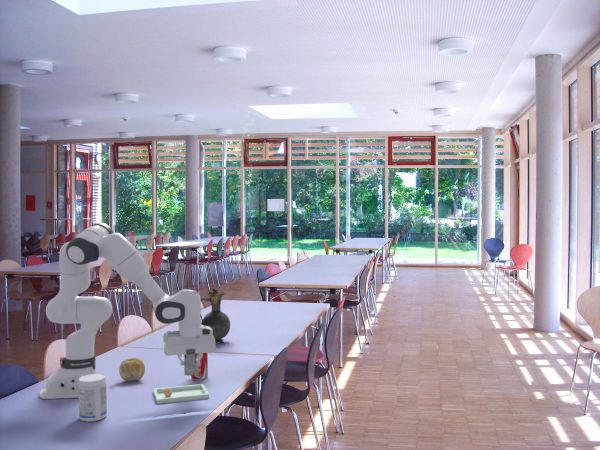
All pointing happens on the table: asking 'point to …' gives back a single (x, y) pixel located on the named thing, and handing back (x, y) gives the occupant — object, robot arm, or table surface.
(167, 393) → the ball
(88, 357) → the robot arm
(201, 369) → the soda can
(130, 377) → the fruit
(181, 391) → the tray
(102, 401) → the supplement tub
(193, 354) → the shaker
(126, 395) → the table surface
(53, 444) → the table surface
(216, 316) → the pitcher
